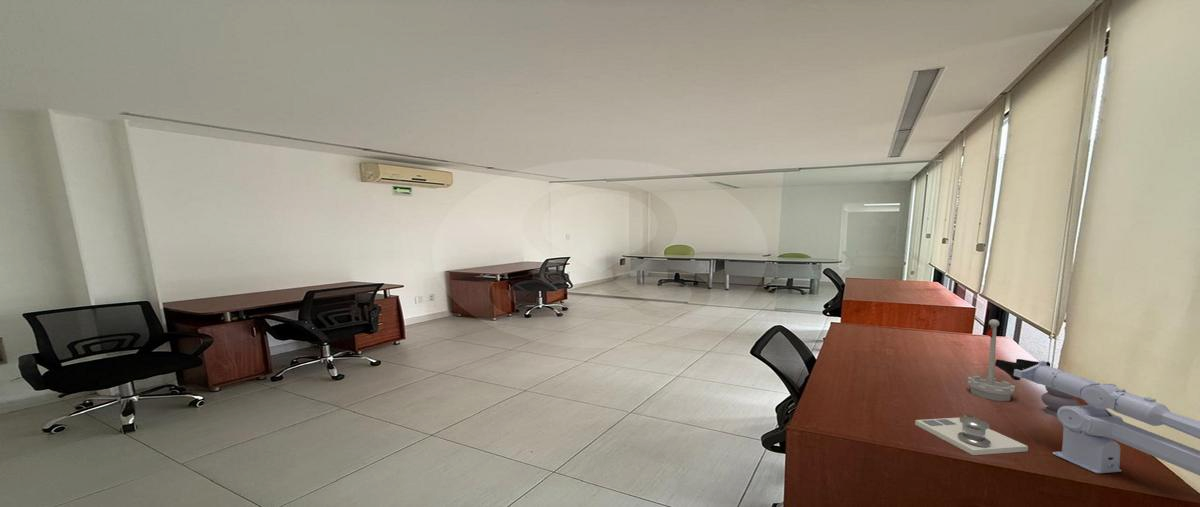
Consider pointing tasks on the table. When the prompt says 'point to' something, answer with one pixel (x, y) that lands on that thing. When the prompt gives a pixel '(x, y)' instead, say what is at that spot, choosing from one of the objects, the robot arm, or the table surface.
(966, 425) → the capstan
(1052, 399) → the grey wavy vase
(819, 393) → the table surface
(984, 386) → the flag stand
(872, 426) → the table surface
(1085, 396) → the robot arm
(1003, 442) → the stand
